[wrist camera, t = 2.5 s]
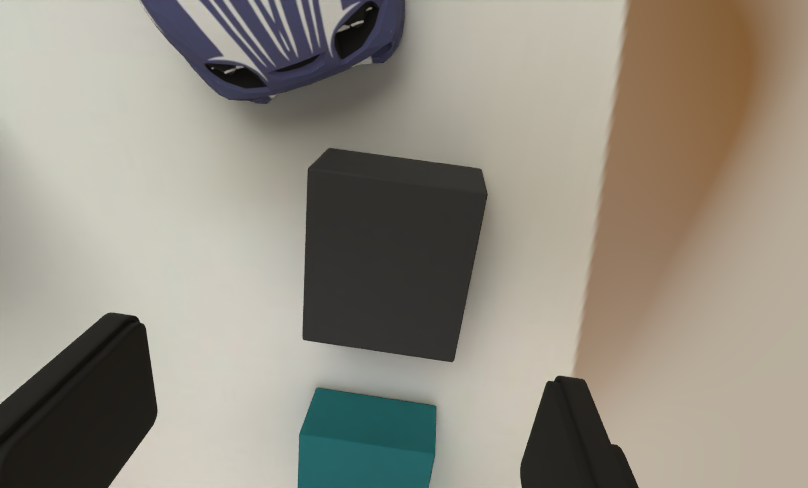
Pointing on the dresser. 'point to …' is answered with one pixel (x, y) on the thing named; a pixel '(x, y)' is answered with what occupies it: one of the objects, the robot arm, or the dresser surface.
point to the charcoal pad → (389, 252)
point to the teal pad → (366, 442)
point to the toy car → (276, 40)
